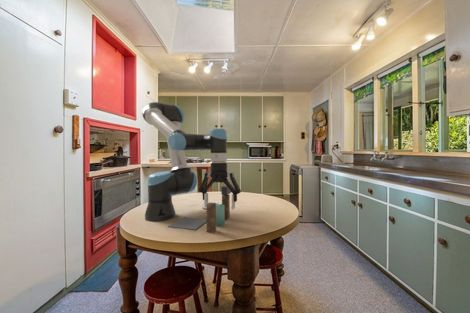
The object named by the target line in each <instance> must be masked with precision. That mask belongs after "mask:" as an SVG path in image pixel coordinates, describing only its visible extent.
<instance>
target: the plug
mask: <svg viewBox="0 0 470 313" xmlns="http://www.w3.org/2000/svg"><path fill="white" fill-rule="evenodd" d="M225 221H226V220H225V210H224V205H223V204H222V203H216V227H223V226H225Z"/></svg>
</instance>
